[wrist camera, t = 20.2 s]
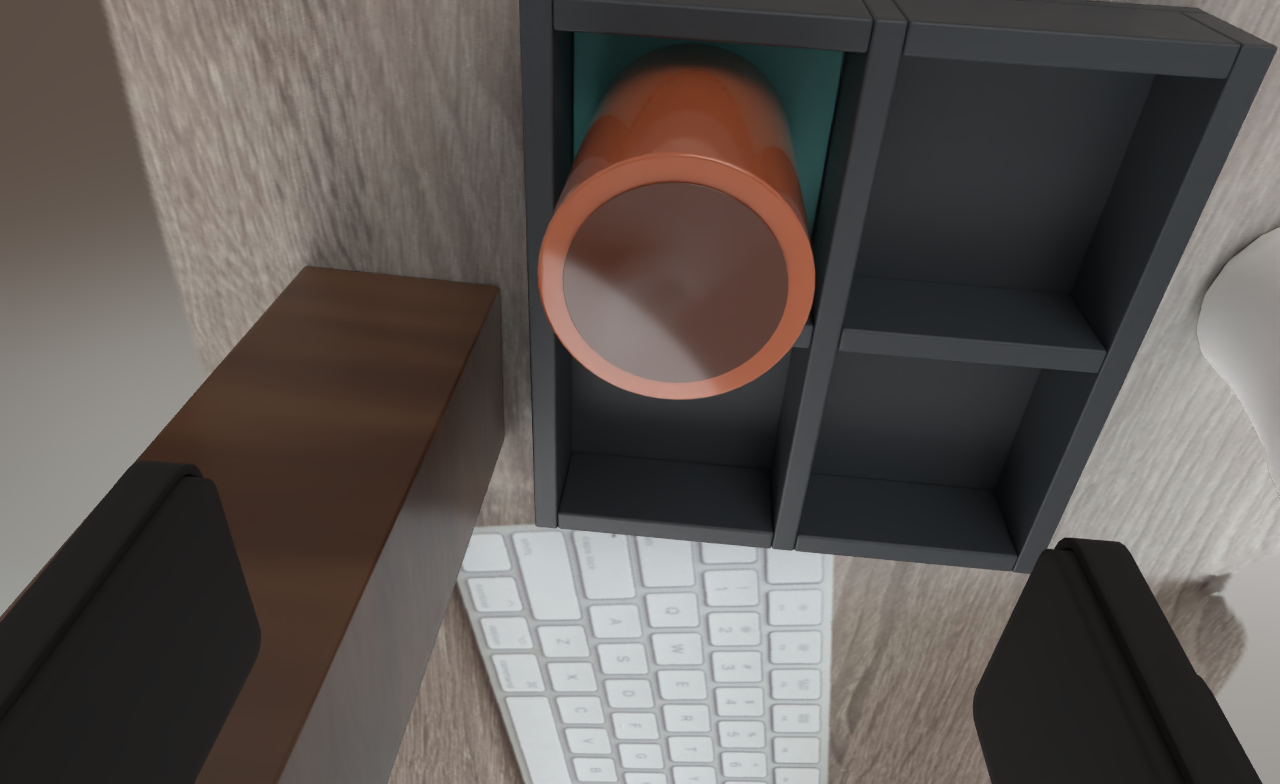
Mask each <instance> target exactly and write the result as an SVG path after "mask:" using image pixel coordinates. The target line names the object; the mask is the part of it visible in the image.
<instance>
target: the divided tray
mask: <svg viewBox="0 0 1280 784" xmlns="http://www.w3.org/2000/svg"><path fill="white" fill-rule="evenodd" d="M519 11H520V43H521V76H522V108H523V141H524V173H525V206H526V238H527V271H528V303H529V335H530V368H531V400H532V433H533V465H534V498H535V525H536V526H537V527H548V528H557V527H559V528H561V529H571V530H582V531H592V532H603V533H613V534H624V535H634V536H645V537H655V538H666V539H676V540H687V541H697V542H707V543H718V544H728V545H739V546H749V547H760V548H770V547H771V546H772V548H773V549H781V550H793V549H795V551H801V552H812V553H822V554H833V555H843V556H854V557H864V558H875V559H885V560H896V561H906V562H917V563H927V564H938V565H948V566H959V567H969V568H980V569H990V570H1000V571H1013V572H1017V573H1028V574H1031V572H1032V570H1033V568H1034V566H1035V564H1036V562H1037V560H1038V557H1039V556H1040V554H1041V553H1042V551H1044V550H1045V549H1047V547H1048V545H1049V543H1050V541H1051V539H1052V536H1053V534H1054V532H1055V530H1056V528H1057V526H1058V523H1059V521H1060V519H1061V517H1062V515H1063V513H1064V510H1065V508H1066V506H1067V504H1068V502H1069V500H1070V497H1071V495H1072V493H1073V491H1074V489H1075V487H1076V484H1077V482H1078V480H1079V478H1080V476H1081V473H1082V471H1083V469H1084V467H1085V465H1086V463H1087V460H1088V458H1089V456H1090V454H1091V452H1092V450H1093V447H1094V445H1095V443H1096V441H1097V439H1098V437H1099V434H1100V432H1101V430H1102V428H1103V426H1104V424H1105V421H1106V419H1107V417H1108V415H1109V413H1110V411H1111V408H1112V406H1113V404H1114V402H1115V400H1116V398H1117V395H1118V393H1119V391H1120V389H1121V387H1122V385H1123V382H1124V380H1125V378H1126V376H1127V374H1128V372H1129V369H1130V367H1131V365H1132V363H1133V361H1134V358H1135V356H1136V354H1137V352H1138V350H1139V348H1140V345H1141V343H1142V341H1143V339H1144V337H1145V335H1146V332H1147V330H1148V328H1149V326H1150V324H1151V322H1152V319H1153V317H1154V315H1155V313H1156V311H1157V309H1158V306H1159V304H1160V302H1161V300H1162V298H1163V296H1164V293H1165V291H1166V289H1167V287H1168V285H1169V283H1170V280H1171V278H1172V276H1173V274H1174V272H1175V270H1176V267H1177V265H1178V263H1179V261H1180V259H1181V257H1182V254H1183V252H1184V250H1185V248H1186V246H1187V244H1188V241H1189V239H1190V237H1191V235H1192V233H1193V230H1194V228H1195V226H1196V224H1197V222H1198V220H1199V217H1200V215H1201V213H1202V211H1203V209H1204V207H1205V204H1206V202H1207V200H1208V198H1209V196H1210V194H1211V191H1212V189H1213V187H1214V185H1215V183H1216V181H1217V178H1218V176H1219V174H1220V172H1221V170H1222V168H1223V165H1224V163H1225V161H1226V159H1227V157H1228V155H1229V152H1230V150H1231V148H1232V146H1233V144H1234V142H1235V139H1236V137H1237V135H1238V133H1239V131H1240V129H1241V126H1242V124H1243V122H1244V120H1245V118H1246V115H1247V113H1248V111H1249V109H1250V107H1251V105H1252V102H1253V100H1254V98H1255V96H1256V94H1257V92H1258V89H1259V87H1260V85H1261V83H1262V81H1263V79H1264V76H1265V74H1266V72H1267V70H1268V68H1269V66H1270V63H1271V61H1272V59H1273V57H1274V55H1275V53H1276V50H1277V47H1276V46H1274V45H1272V44H1270V43H1268V42H1266V41H1264V40H1262V39H1260V38H1258V37H1256V36H1254V35H1252V34H1250V33H1248V32H1245V31H1243V30H1241V29H1239V28H1237V27H1235V26H1233V25H1231V24H1229V23H1227V22H1225V21H1223V20H1221V19H1219V18H1217V17H1215V16H1213V15H1211V14H1208V13H1207V12H1205V11H1203V10H1201V9H1199V8H1188V7H1174V6H1160V5H1145V4H1131V3H1116V2H1102V1H1087V0H519ZM687 43H692V44H705V45H711V46H716V47H719V48H722V49H725V50H728V51H731V52H733V53H735V54H737V55H739V56H741V57H743V58H744V59H746V60H747V61H749V62H750V63H752V64H753V65H755V66H756V67H757V68H758V69H759V70H760V71H761V72H762V73H763V74H764V75H765V76H766V77H767V78H768V79H769V81H770V82H771V83H772V84H773V85H774V87H775V89H776V90H777V92H778V94H779V95H780V97H781V99H782V101H783V104H784V106H785V108H786V111H787V114H788V118H789V121H790V127H791V132H792V138H793V144H794V149H795V155H796V160H797V166H798V172H799V177H800V183H801V189H802V194H803V200H804V206H805V211H806V217H807V222H808V228H809V234H810V239H811V245H812V251H813V257H814V264H815V292H814V298H813V304H812V307H811V310H810V313H809V317H808V320H807V322H806V324H805V326H804V328H803V330H802V332H801V334H800V335H799V337H798V338H797V340H796V341H795V343H794V344H793V346H792V347H791V348H790V350H789V351H788V352H787V353H786V354H785V355H784V356H783V357H782V359H781V360H780V361H779V362H777V363H776V364H775V365H774V366H773V367H772V368H771V369H769V370H768V371H767V372H765V373H764V374H762V375H761V376H759V377H758V378H756V379H755V380H753V381H751V382H749V383H747V384H745V385H743V386H741V387H739V388H737V389H734V390H731V391H729V392H726V393H722V394H719V395H715V396H711V397H705V398H698V399H685V400H672V399H659V398H654V397H648V396H643V395H640V394H636V393H633V392H629V391H626V390H624V389H622V388H619V387H617V386H614V385H612V384H610V383H608V382H607V381H605V380H603V379H601V378H599V377H598V376H596V375H595V374H593V373H592V372H591V371H589V370H588V369H586V368H585V367H584V366H583V365H582V364H581V363H579V362H578V361H577V360H576V359H575V358H574V357H573V356H572V355H571V354H570V353H569V351H568V350H567V349H566V348H565V347H564V346H563V345H562V343H561V342H560V340H559V339H558V337H557V336H556V334H555V333H554V331H553V329H552V327H551V325H550V323H549V321H548V319H547V317H546V314H545V311H544V309H543V306H542V303H541V298H540V293H539V288H538V273H537V269H538V259H539V252H540V248H541V244H542V240H543V237H544V234H545V232H546V229H547V227H548V224H549V222H550V219H551V217H552V214H553V212H554V210H555V207H556V205H557V202H558V200H559V197H560V195H561V192H562V190H563V187H564V185H565V182H566V180H567V177H568V175H569V172H570V170H571V167H572V165H573V162H574V160H575V158H576V155H577V153H578V150H579V148H580V145H581V143H582V140H583V138H584V135H585V133H586V130H587V128H588V125H589V123H590V120H591V118H592V115H593V113H594V111H595V108H596V106H597V103H598V101H599V99H600V97H601V95H602V94H603V92H604V90H605V89H606V87H607V86H608V85H609V83H610V82H611V81H612V79H613V78H614V77H615V76H616V75H617V74H618V73H619V72H620V71H621V70H622V69H623V68H624V67H626V66H627V65H628V64H630V63H631V62H632V61H634V60H635V59H637V58H639V57H641V56H642V55H644V54H646V53H648V52H651V51H653V50H656V49H659V48H662V47H666V46H671V45H675V44H687Z"/></svg>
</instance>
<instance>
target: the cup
mask: <svg viewBox="0 0 1280 784" xmlns="http://www.w3.org/2000/svg"><path fill="white" fill-rule="evenodd" d="M1196 333H1197V336H1198V340H1199V344H1200V348H1201V352H1202V355H1203V356H1204V357H1205V359H1206V360H1207V361H1208V362H1209V363H1210V364H1211V366H1212V367H1213V368H1214V369H1215V370H1216V371H1217V373H1218V374H1219V375H1220V376H1221V377H1222V378H1223V379H1224V381H1225V382H1226V383H1227V384H1228V385H1229V386H1230V388H1231V389H1232V390H1233V392H1234V393H1235V394H1236V396H1237V397H1238V399H1239V401H1240V402H1241V404H1242V406H1243V408H1244V410H1245V412H1246V414H1247V416H1248V417H1249V419H1250V421H1251V423H1252V425H1253V427H1254V429H1255V431H1256V433H1257V435H1258V437H1259V439H1260V441H1261V443H1262V445H1263V447H1264V450H1265V452H1266V454H1267V467H1268V470H1269V472H1270V475H1271V478H1272V481H1273V483H1274V486H1275V488H1276V491H1277V493H1278V496H1279V498H1280V227H1278V228H1276V229H1274V230H1272V231H1270V232H1268V233H1266V234H1263V235H1261V236H1260V237H1259V238H1257V239H1256V240H1255V241H1253V242H1252V243H1251V244H1250V245H1248V246H1247V247H1246V248H1245V249H1243V250H1242V251H1241V252H1240V253H1238V254H1237V255H1236V256H1234V257H1233V258H1232V259H1231V260H1229V261H1228V262H1227V264H1226V265H1225V267H1224V268H1223V269H1222V271H1221V272H1220V274H1219V275H1218V276H1217V278H1216V279H1215V281H1214V282H1213V283H1212V285H1211V286H1210V288H1209V289H1208V291H1207V292H1206V294H1205V296H1204V298H1203V302H1202V306H1201V311H1200V315H1199V320H1198V324H1197V328H1196Z"/></svg>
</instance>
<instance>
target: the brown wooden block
mask: <svg viewBox="0 0 1280 784" xmlns="http://www.w3.org/2000/svg"><path fill="white" fill-rule="evenodd" d="M503 441H504V420H503V383H502V346H501V309H500V288H499V287H498V286H491V285H481V284H472V283H462V282H453V281H443V280H434V279H424V278H414V277H405V276H395V275H386V274H376V273H367V272H357V271H348V270H338V269H328V268H319V267H309V266H306V267H304V268H303V269H302V270H301V271H300V272H299V274H298V275H297V276H296V277H295V278H294V279H293V281H292V282H291V283H290V284H289V285H288V286H287V287H286V289H285V290H284V291H283V292H282V293H281V294H280V296H279V297H278V298H277V299H276V300H275V301H274V302H273V304H272V305H271V306H270V307H269V308H268V309H267V310H266V312H265V313H264V314H263V315H262V316H261V317H260V319H259V320H258V321H257V322H256V323H255V324H254V325H253V327H252V328H251V329H250V330H249V331H248V332H247V334H246V335H245V336H244V337H243V338H242V339H241V340H240V342H239V343H238V344H237V345H236V346H235V347H234V348H233V350H232V351H231V352H230V353H229V354H228V355H227V357H226V358H225V359H224V360H223V361H222V362H221V363H220V365H219V366H218V367H217V368H216V369H215V370H214V372H213V373H212V374H211V375H210V376H209V377H208V378H207V380H206V381H205V382H204V383H203V384H202V385H201V386H200V388H199V389H198V390H197V391H196V392H195V393H194V395H193V396H192V397H191V398H190V399H189V400H188V401H187V403H186V404H185V405H184V406H183V407H182V409H181V410H180V411H179V412H178V413H177V414H176V415H175V417H174V418H173V419H172V420H171V421H170V422H169V423H168V424H167V426H166V427H165V428H164V429H163V430H162V431H161V433H160V434H159V435H158V436H157V437H156V438H155V440H154V441H153V442H152V443H151V444H150V445H149V446H148V447H147V449H146V450H145V451H144V452H143V453H142V454H141V456H140V457H139V458H138V459H137V460H136V461H135V462H138V461H141V460H148V461H159V462H171V463H183V464H192V465H195V466H197V467H198V468H199V469H200V471H201V473H202V475H203V477H204V478H208V479H211V480H212V481H213V482H214V483H215V485H216V487H217V490H218V494H219V497H220V500H221V503H222V506H223V510H224V513H225V516H226V519H227V522H228V526H229V529H230V532H231V535H232V539H233V542H234V545H235V548H236V551H237V555H238V558H239V561H240V564H241V567H242V571H243V574H244V577H245V580H246V583H247V587H248V590H249V593H250V596H251V599H252V603H253V606H254V609H255V612H256V616H257V619H258V622H259V625H260V629H261V645H260V650H259V654H258V657H257V659H256V662H255V664H254V666H253V668H252V670H251V672H250V674H249V676H248V678H247V680H246V682H245V684H244V686H243V688H242V690H241V692H240V694H239V696H238V698H237V700H236V702H235V704H234V706H233V708H232V710H231V711H230V713H229V715H228V717H227V719H226V721H225V723H224V725H223V727H222V729H221V731H220V733H219V735H218V737H217V739H216V741H215V743H214V745H213V747H212V749H211V751H210V753H209V755H208V757H207V759H206V761H205V763H204V765H203V767H202V769H201V771H200V773H199V775H198V777H197V779H196V781H195V783H194V784H387V783H388V780H389V777H390V774H391V771H392V768H393V765H394V762H395V759H396V756H397V753H398V750H399V747H400V744H401V741H402V738H403V736H404V733H405V730H406V727H407V724H408V721H409V718H410V715H411V712H412V709H413V706H414V703H415V700H416V697H417V694H418V691H419V688H420V685H421V683H422V680H423V677H424V674H425V671H426V668H427V665H428V662H429V659H430V656H431V653H432V650H433V647H434V644H435V641H436V638H437V635H438V633H439V630H440V627H441V624H442V621H443V618H444V615H445V612H446V609H447V606H448V603H449V600H450V597H451V594H452V591H453V588H454V585H455V582H456V580H457V577H458V574H459V571H460V568H461V565H462V562H463V559H464V556H465V553H466V550H467V547H468V544H469V541H470V538H471V535H472V532H473V530H474V527H475V524H476V521H477V518H478V515H479V512H480V509H481V506H482V503H483V500H484V497H485V494H486V491H487V488H488V485H489V482H490V479H491V477H492V474H493V471H494V468H495V465H496V462H497V459H498V456H499V453H500V450H501V447H502V444H503ZM102 500H103V499H102ZM102 500H101V501H102ZM97 506H98V505H97ZM97 506H96V507H97ZM96 507H95V508H96ZM95 508H94V509H95ZM93 511H94V510H93ZM93 511H92V512H93ZM92 512H91V513H92ZM91 513H90V514H91ZM90 514H89V515H90ZM89 515H88V517H89ZM88 517H87V518H88ZM87 518H86V519H87ZM86 519H85V520H86ZM85 520H84V521H85ZM84 521H83V522H82V524H83V523H84ZM82 524H81V525H82ZM81 525H80V526H81ZM80 526H79V527H80ZM79 527H78V528H77V529H76V530H75V532H76V531H77V530H78V529H79ZM75 532H74V533H73V534H72V535H71V536H70V537H69V539H68V540H67V541H66V542H65V543H64V544H63V545H62V547H61V548H60V549H59V550H58V551H57V552H56V553H55V555H54V556H53V557H52V558H51V559H50V561H49V562H48V563H47V564H46V565H45V566H44V567H43V568H42V570H41V571H40V572H39V573H38V574H37V575H36V577H35V578H34V579H33V580H32V581H31V582H30V583H29V585H28V586H27V587H26V588H25V589H24V590H23V591H22V593H21V594H20V595H19V596H18V597H17V598H16V599H15V601H14V602H13V603H12V604H11V605H10V606H9V608H8V609H7V610H6V611H5V612H4V613H3V615H2V616H1V617H0V622H1V621H2V620H3V619H4V617H5V616H6V615H7V614H8V613H9V611H10V610H11V609H12V608H13V607H14V605H15V604H16V603H17V602H18V601H19V599H20V598H21V597H22V596H23V594H24V593H25V592H26V591H27V590H28V589H29V588H30V587H31V586H32V584H33V583H34V582H35V581H36V579H37V578H38V577H39V576H40V575H41V573H42V572H43V571H44V570H45V569H46V567H47V566H48V565H49V564H50V563H51V561H52V560H53V559H54V558H55V557H56V555H57V554H58V553H59V552H60V550H61V549H62V548H63V547H64V546H65V544H66V543H67V542H68V541H69V540H70V538H71V537H72V536H73V535H74V534H75Z"/></svg>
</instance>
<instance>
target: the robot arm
mask: <svg viewBox="0 0 1280 784" xmlns="http://www.w3.org/2000/svg"><path fill="white" fill-rule="evenodd" d="M260 645H261V629H260V625H259V622H258V619H257V616H256V612H255V609H254V606H253V603H252V599H251V596H250V593H249V590H248V587H247V583H246V580H245V577H244V574H243V571H242V567H241V564H240V561H239V558H238V555H237V551H236V548H235V545H234V542H233V539H232V535H231V532H230V529H229V526H228V522H227V519H226V516H225V513H224V510H223V506H222V503H221V500H220V497H219V494H218V490H217V487H216V485H215V483H214V482H213V481H212V480H211V479H208V478H204V477H203V475H202V473H201V471H200V469H199V468H198V467H197V466H195V465H192V464H183V463H171V462H159V461H148V460H141V461H138V462H135V463H134V464H133V465H132V466H131V467H129V468H128V470H127V471H126V472H125V473H124V474H123V476H122V477H121V478H120V479H119V480H118V482H117V483H116V484H115V485H114V486H113V488H112V489H111V490H110V491H109V492H108V494H107V495H106V496H105V497H104V498H103V500H102V501H101V502H100V503H99V504H98V506H97V507H96V508H95V509H94V511H93V512H92V513H91V514H90V515H89V517H88V518H87V519H86V520H85V521H84V523H83V524H82V525H81V526H80V527H79V529H78V530H77V531H76V532H75V534H74V535H73V536H72V537H71V538H70V540H69V541H68V542H67V543H66V544H65V546H64V547H63V548H62V549H61V550H60V552H59V553H58V554H57V555H56V557H55V558H54V559H53V560H52V561H51V563H50V564H49V565H48V566H47V567H46V569H45V570H44V571H43V572H42V573H41V575H40V576H39V577H38V578H37V579H36V581H35V582H34V583H33V584H32V586H31V587H30V588H29V589H28V590H27V591H26V592H25V593H24V594H23V596H22V597H21V598H20V599H19V601H18V602H17V603H16V604H15V605H14V607H13V608H12V609H11V610H10V611H9V613H8V614H7V615H6V616H5V617H4V619H3V620H2V621H1V622H0V784H194V783H195V781H196V779H197V777H198V775H199V773H200V771H201V769H202V767H203V765H204V763H205V761H206V759H207V757H208V755H209V753H210V751H211V749H212V747H213V745H214V743H215V741H216V739H217V737H218V735H219V733H220V731H221V729H222V727H223V725H224V723H225V721H226V719H227V717H228V715H229V713H230V711H231V710H232V708H233V706H234V704H235V702H236V700H237V698H238V696H239V694H240V692H241V690H242V688H243V686H244V684H245V682H246V680H247V678H248V676H249V674H250V672H251V670H252V668H253V666H254V664H255V662H256V659H257V657H258V654H259V650H260ZM973 716H974V722H975V726H976V730H977V734H978V737H979V741H980V744H981V748H982V751H983V755H984V758H985V762H986V765H987V769H988V772H989V776H990V779H991V783H992V784H1262V782H1261V780H1260V779H1259V777H1258V775H1257V773H1256V771H1255V769H1254V768H1253V766H1252V764H1251V762H1250V760H1249V759H1248V757H1247V755H1246V754H1245V751H1244V749H1243V748H1242V746H1241V744H1240V743H1239V740H1238V739H1237V737H1236V735H1235V733H1234V732H1233V730H1232V728H1231V726H1230V724H1229V722H1228V721H1227V719H1226V717H1225V715H1224V713H1223V712H1222V710H1221V708H1220V706H1219V704H1218V703H1217V701H1216V699H1215V697H1214V695H1213V693H1212V692H1211V690H1210V689H1209V688H1208V686H1207V685H1206V683H1205V682H1204V680H1203V679H1202V678H1201V677H1200V676H1199V675H1197V674H1196V672H1195V670H1194V669H1193V667H1192V665H1191V663H1190V661H1189V659H1188V658H1187V656H1186V654H1185V652H1184V650H1183V648H1182V647H1181V645H1180V643H1179V641H1178V639H1177V637H1176V636H1175V634H1174V632H1173V630H1172V628H1171V626H1170V625H1169V623H1168V621H1167V619H1166V617H1165V615H1164V614H1163V612H1162V610H1161V608H1160V606H1159V604H1158V603H1157V601H1156V599H1155V597H1154V595H1153V593H1152V592H1151V590H1150V588H1149V586H1148V584H1147V582H1146V581H1145V579H1144V577H1143V575H1142V573H1141V572H1140V570H1139V568H1138V566H1137V564H1136V562H1135V561H1134V559H1133V557H1132V555H1131V553H1130V552H1129V551H1128V549H1127V548H1126V547H1125V546H1124V545H1123V544H1121V543H1120V542H1115V541H1103V540H1091V539H1079V538H1063V539H1062V540H1060V541H1059V542H1058V544H1057V545H1056V547H1055V548H1054V549H1045V550H1044V551H1042V553H1041V554H1040V556H1039V557H1038V560H1037V562H1036V564H1035V566H1034V568H1033V570H1032V572H1031V574H1030V576H1029V579H1028V581H1027V583H1026V585H1025V587H1024V589H1023V591H1022V593H1021V596H1020V598H1019V600H1018V602H1017V604H1016V606H1015V608H1014V610H1013V612H1012V615H1011V617H1010V619H1009V621H1008V623H1007V625H1006V627H1005V629H1004V631H1003V634H1002V636H1001V638H1000V640H999V642H998V644H997V646H996V648H995V650H994V653H993V655H992V657H991V659H990V661H989V663H988V665H987V667H986V669H985V672H984V674H983V676H982V678H981V680H980V682H979V684H978V686H977V688H976V691H975V694H974V699H973Z"/></svg>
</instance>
